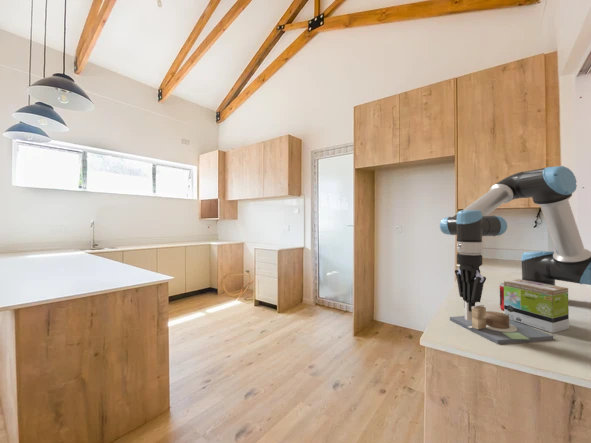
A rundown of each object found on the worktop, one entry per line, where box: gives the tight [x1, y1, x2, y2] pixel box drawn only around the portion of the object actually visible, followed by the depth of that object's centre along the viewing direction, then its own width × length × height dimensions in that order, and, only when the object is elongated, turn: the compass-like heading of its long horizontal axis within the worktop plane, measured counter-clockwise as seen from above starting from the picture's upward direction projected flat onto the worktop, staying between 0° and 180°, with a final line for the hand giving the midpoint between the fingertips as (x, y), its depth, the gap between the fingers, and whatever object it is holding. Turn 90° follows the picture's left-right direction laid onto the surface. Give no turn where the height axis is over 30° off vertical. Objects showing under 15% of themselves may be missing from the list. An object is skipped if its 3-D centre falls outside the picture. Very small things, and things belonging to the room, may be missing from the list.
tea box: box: [503, 278, 570, 334], centre depth 94 cm, size 15×10×15 cm, turn 21°
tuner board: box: [449, 315, 554, 345], centre depth 89 cm, size 21×21×1 cm
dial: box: [471, 304, 509, 329], centre depth 88 cm, size 15×7×8 cm, turn 109°
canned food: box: [499, 282, 504, 312], centre depth 107 cm, size 8×8×11 cm
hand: (469, 319), depth 90 cm, fingers closed
